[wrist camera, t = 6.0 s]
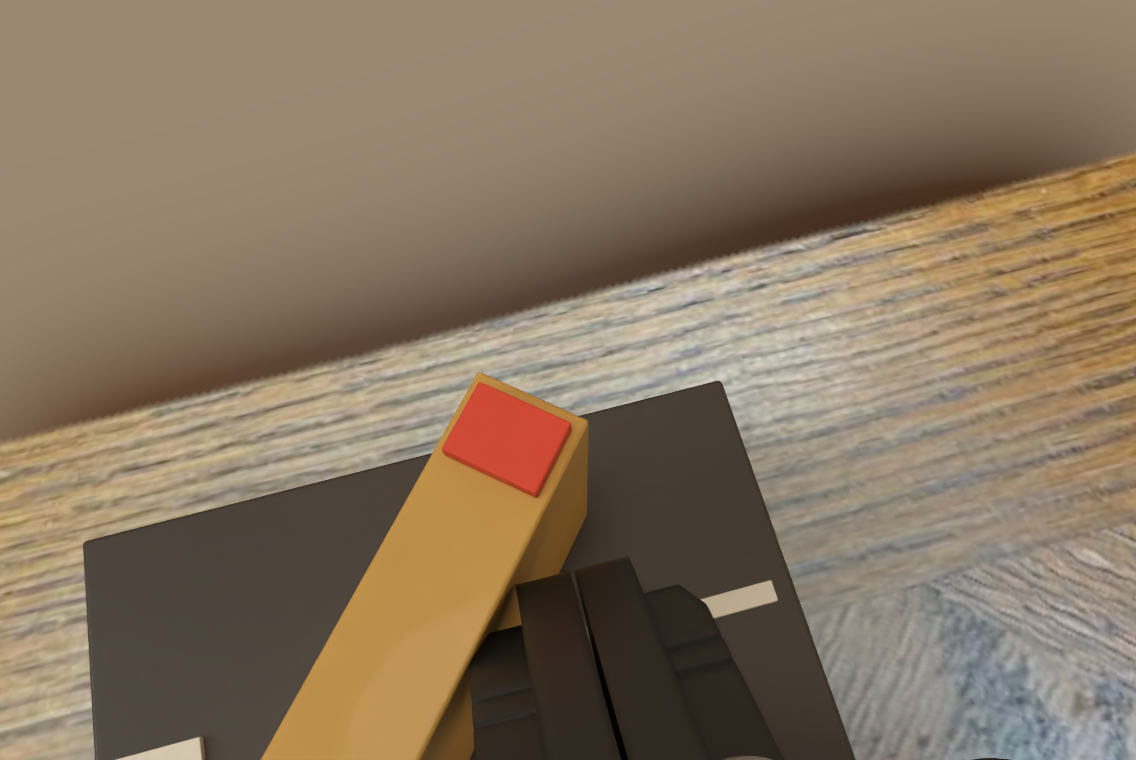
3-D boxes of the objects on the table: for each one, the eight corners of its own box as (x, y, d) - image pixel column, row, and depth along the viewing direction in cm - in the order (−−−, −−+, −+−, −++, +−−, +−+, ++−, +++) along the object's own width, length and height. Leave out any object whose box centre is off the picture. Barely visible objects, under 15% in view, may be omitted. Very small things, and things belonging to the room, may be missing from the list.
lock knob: (391, 921, 13) (282, 1027, 9) (302, 869, 14) (147, 943, 9) (588, 512, 16) (590, 413, 11) (508, 475, 16) (475, 362, 11)
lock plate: (205, 1002, 16) (104, 1074, 13) (166, 574, 19) (76, 538, 16) (826, 816, 17) (887, 837, 14) (698, 436, 20) (722, 375, 17)
